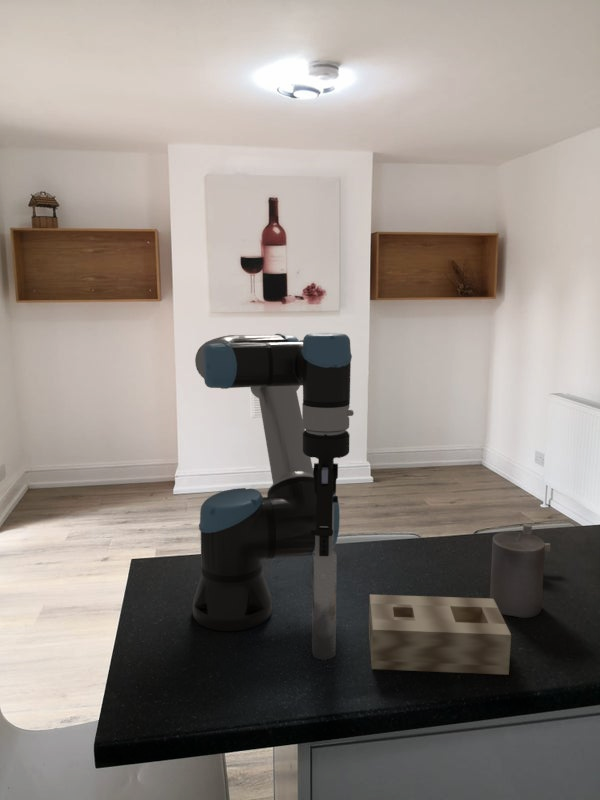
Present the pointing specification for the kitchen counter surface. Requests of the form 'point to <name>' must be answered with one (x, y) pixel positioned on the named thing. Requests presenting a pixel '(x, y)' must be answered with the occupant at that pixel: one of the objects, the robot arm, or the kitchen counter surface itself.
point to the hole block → (438, 634)
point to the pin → (324, 612)
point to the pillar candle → (517, 573)
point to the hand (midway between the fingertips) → (325, 555)
